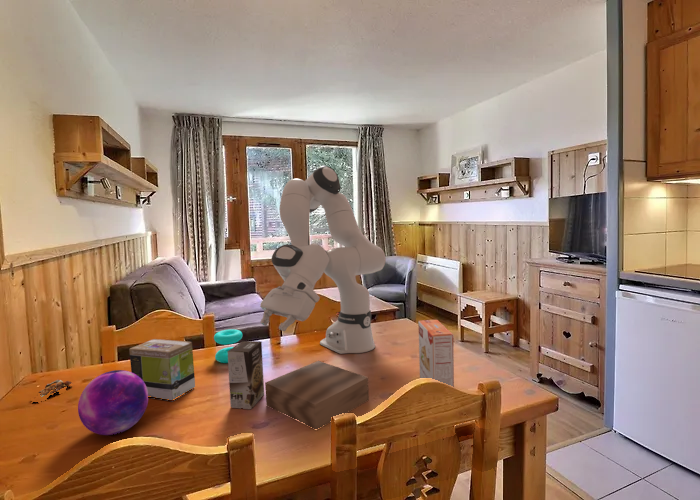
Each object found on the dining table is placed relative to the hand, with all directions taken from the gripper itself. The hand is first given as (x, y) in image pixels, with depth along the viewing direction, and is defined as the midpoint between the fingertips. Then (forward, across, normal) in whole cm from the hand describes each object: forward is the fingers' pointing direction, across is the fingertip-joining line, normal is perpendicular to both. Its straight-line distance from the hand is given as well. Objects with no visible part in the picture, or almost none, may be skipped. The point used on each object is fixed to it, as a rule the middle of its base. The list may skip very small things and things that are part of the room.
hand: (271, 327), depth 120 cm
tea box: (+30, -24, -3) cm, 39 cm away
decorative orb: (+42, -11, -14) cm, 46 cm away
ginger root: (+47, -50, -19) cm, 71 cm away
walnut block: (+12, +16, +16) cm, 26 cm away
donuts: (+11, -34, +16) cm, 39 cm away
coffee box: (+20, +1, +7) cm, 22 cm away
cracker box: (-4, +40, +32) cm, 51 cm away
